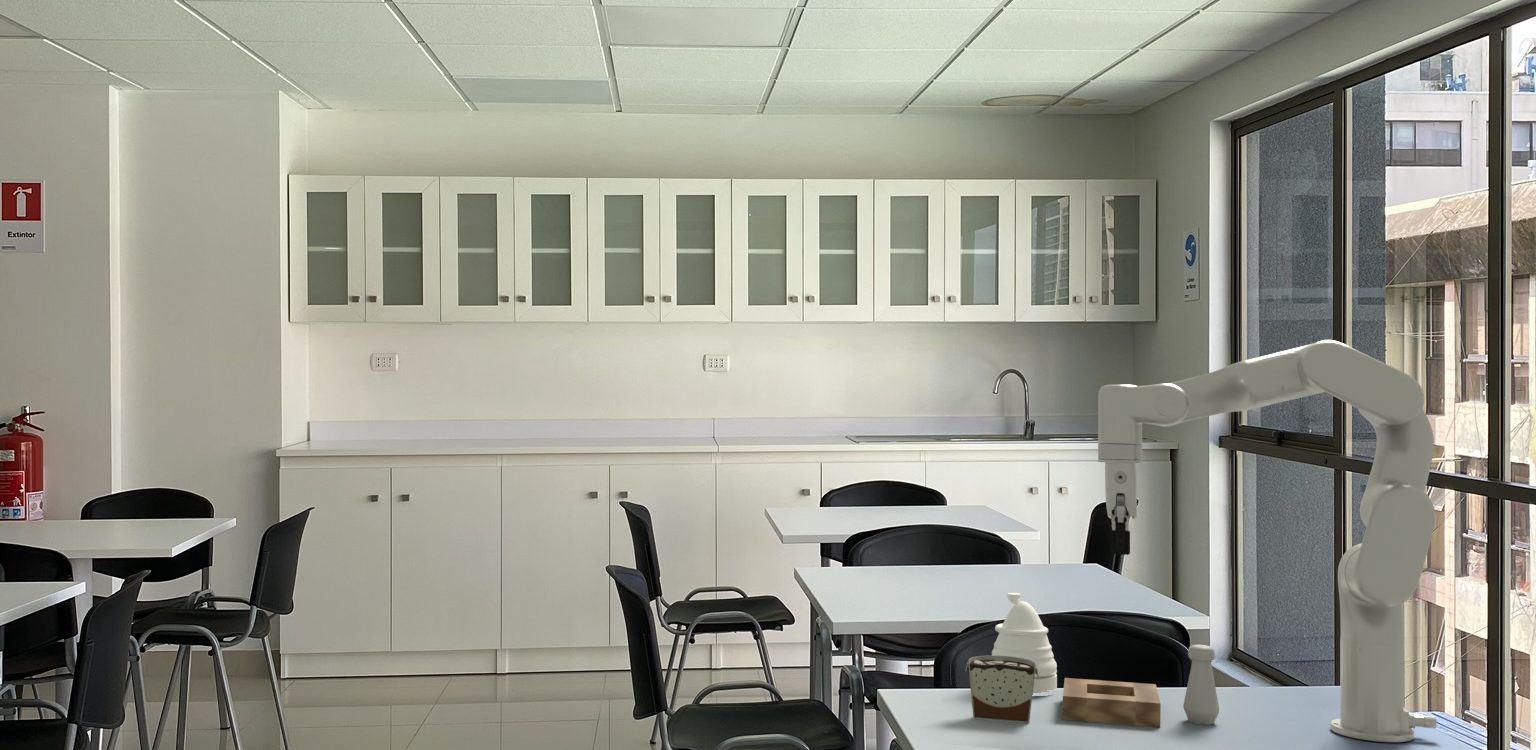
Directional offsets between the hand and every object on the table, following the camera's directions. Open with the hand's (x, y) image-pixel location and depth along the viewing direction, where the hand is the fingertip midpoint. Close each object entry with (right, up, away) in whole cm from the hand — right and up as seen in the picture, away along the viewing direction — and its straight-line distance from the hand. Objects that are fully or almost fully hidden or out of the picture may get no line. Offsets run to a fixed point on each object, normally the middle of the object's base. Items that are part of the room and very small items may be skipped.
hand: (1119, 551), depth 215 cm
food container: (-22, -28, -5) cm, 36 cm away
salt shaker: (+12, -29, -5) cm, 32 cm away
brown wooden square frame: (-2, -28, 0) cm, 28 cm away
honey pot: (-13, -29, +18) cm, 37 cm away
